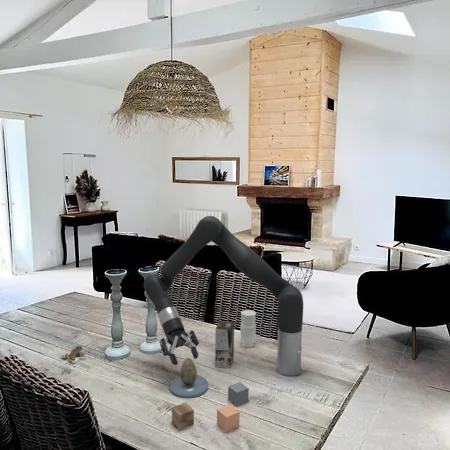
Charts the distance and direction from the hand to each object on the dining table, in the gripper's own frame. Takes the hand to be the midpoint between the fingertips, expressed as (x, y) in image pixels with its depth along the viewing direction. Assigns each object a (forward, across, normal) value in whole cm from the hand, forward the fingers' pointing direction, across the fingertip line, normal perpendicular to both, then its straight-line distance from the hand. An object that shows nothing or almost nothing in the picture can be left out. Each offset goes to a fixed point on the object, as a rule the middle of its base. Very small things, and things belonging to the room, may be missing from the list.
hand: (186, 361), depth 152 cm
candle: (-3, +40, +17) cm, 44 cm away
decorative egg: (+7, 0, +5) cm, 9 cm away
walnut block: (+20, -12, -6) cm, 24 cm away
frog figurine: (-26, -27, +40) cm, 55 cm away
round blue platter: (+8, 0, +6) cm, 10 cm away
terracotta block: (+26, -2, -12) cm, 29 cm away
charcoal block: (+20, +10, -6) cm, 23 cm away
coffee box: (+2, +22, +12) cm, 25 cm away
